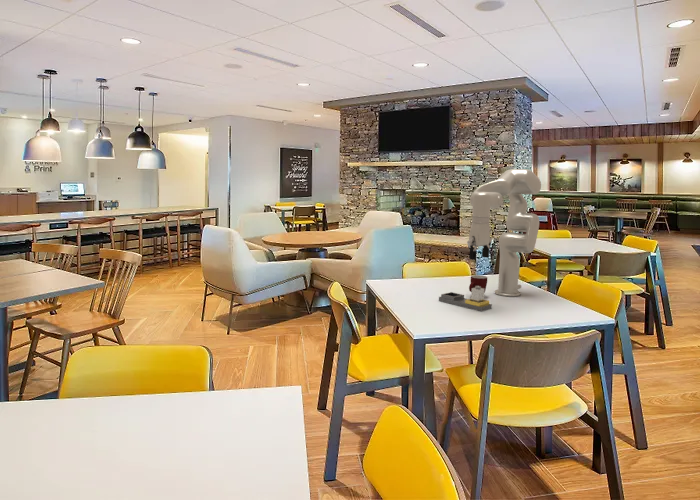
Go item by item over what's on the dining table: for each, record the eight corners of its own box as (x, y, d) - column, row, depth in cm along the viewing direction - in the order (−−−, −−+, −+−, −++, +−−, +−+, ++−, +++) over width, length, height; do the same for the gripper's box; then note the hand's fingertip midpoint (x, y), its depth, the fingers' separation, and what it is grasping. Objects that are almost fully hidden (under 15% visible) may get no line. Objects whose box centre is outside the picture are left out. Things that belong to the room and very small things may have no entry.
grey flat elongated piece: (449, 298, 242) (449, 291, 241) (491, 308, 224) (491, 301, 223) (438, 301, 237) (439, 293, 236) (481, 311, 219) (481, 303, 218)
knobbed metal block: (476, 301, 228) (477, 285, 226) (483, 303, 224) (484, 286, 223) (470, 303, 225) (471, 286, 224) (478, 305, 222) (479, 287, 221)
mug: (477, 300, 240) (478, 279, 238) (463, 296, 246) (464, 277, 244) (489, 296, 247) (490, 277, 246) (475, 293, 253) (476, 274, 251)
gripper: (484, 218, 229) (483, 255, 232) (462, 221, 218) (460, 259, 220) (499, 220, 223) (497, 257, 226) (476, 222, 212) (474, 261, 215)
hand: (479, 258), depth 223 cm, fingers open, 9 cm apart
